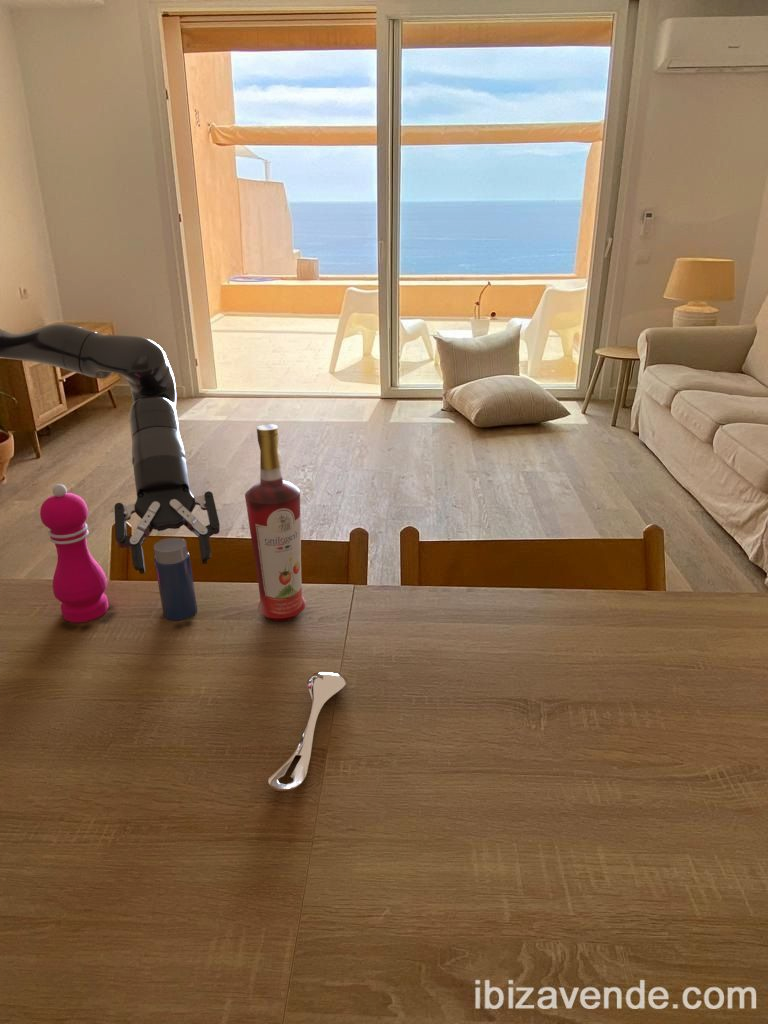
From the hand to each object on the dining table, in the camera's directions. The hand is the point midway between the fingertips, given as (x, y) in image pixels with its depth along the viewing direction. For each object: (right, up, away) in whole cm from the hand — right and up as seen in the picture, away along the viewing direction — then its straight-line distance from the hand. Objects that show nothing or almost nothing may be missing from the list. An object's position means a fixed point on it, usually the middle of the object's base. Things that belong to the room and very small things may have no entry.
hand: (173, 567), depth 98 cm
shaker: (0, -7, +3) cm, 8 cm away
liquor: (+15, -7, +3) cm, 17 cm away
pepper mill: (-14, -7, +4) cm, 16 cm away
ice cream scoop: (+21, -17, -20) cm, 34 cm away
